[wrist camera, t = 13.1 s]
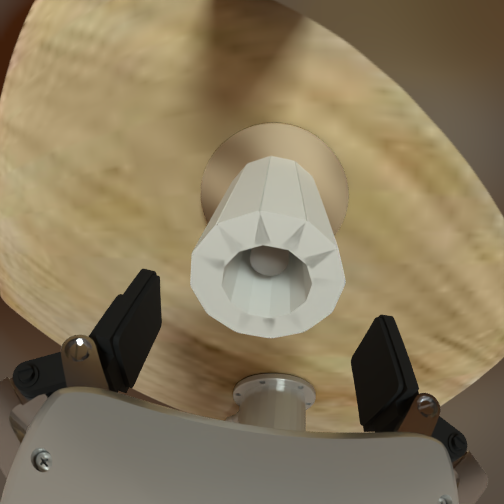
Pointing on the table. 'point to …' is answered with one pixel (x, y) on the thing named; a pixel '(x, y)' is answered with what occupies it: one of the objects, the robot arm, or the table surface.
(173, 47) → the table surface
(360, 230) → the table surface
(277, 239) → the paper roll
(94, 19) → the table surface
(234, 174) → the roll stand
